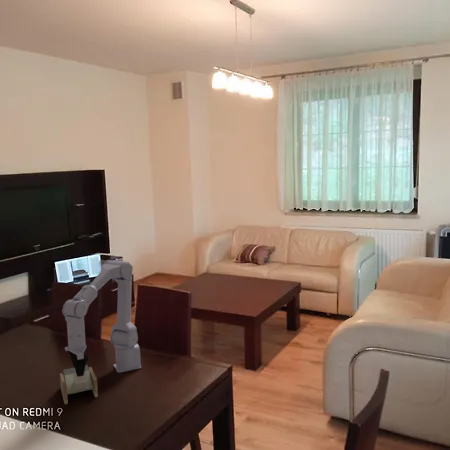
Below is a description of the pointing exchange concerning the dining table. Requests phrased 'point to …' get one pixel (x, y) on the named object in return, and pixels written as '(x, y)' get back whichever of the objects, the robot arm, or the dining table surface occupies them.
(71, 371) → the pale grey slab
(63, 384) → the tan piece
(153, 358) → the dining table surface
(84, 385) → the plain off-white cube
